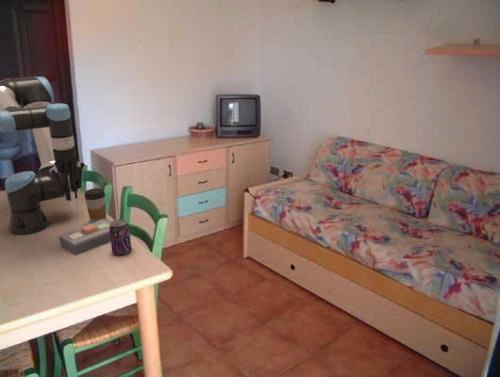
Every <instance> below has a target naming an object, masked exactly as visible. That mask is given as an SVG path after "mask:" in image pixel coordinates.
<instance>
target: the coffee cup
mask: <svg viewBox="0 0 500 377" xmlns="http://www.w3.org/2000/svg"><path fill="white" fill-rule="evenodd" d="M84 200H85V202H86V209H87V213H88V214H87V215H88V218H89V221H90V224H91V223H94V222H97V221H100V220H106V221H107V204H106V194H105V191H104V189H103V188H95V187H94V188H90V189H87V190H86V191H85V192H84Z"/></svg>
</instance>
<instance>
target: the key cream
mask: <svg viewBox="0 0 500 377" xmlns="http://www.w3.org/2000/svg"><path fill="white" fill-rule="evenodd" d="M83 236H84V235H83V234H81V233H79V232H77V233H74V234H72V235H69V236H68V238H70V239H72V240H75V239H78V238H80V237H83Z"/></svg>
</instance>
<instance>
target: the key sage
mask: <svg viewBox="0 0 500 377" xmlns="http://www.w3.org/2000/svg"><path fill="white" fill-rule="evenodd" d="M96 227H97V228H98V229H100V230H102V229H105V228H108V227H110V225H109V224H107V223H103V224H100V225H97V226H96Z"/></svg>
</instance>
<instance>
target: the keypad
mask: <svg viewBox="0 0 500 377" xmlns="http://www.w3.org/2000/svg"><path fill="white" fill-rule="evenodd" d="M103 223H107V224H109V225H110V223H111V221H110V222H109V221H108V220H107V219H106V220H100V221H97V222H94V223H91V222H90V223H89V224H87V225H90V224H93V225H94V226H97V225H100V224H103ZM87 225H83V226H80V227H78V228H75V229H72V230H69V231H65V232H63V233H61V234H58V237H59V242H60V246H61V247H63V248H64V249H66V250H67V251H69V252H71V253H72V254H74V255H75V256H77V255H80V254H82V253H85V252H88V251H90V250H93V249H95V248H97V247H101V246H102V245H105V244H108V243H111V239H110V232H109V227H108V228H105V229H102V230H100V229H98V228H97V229H98V231H97V232H94V233H91V234H88V235H86V234H84V233H82V230H81V227H84V226H87ZM77 232H79V233H81V234H83V235H84V236H83V237H80V238H78V239H75V240H72V239H70V238H68V236H69V235H72V234H74V233H77Z"/></svg>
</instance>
